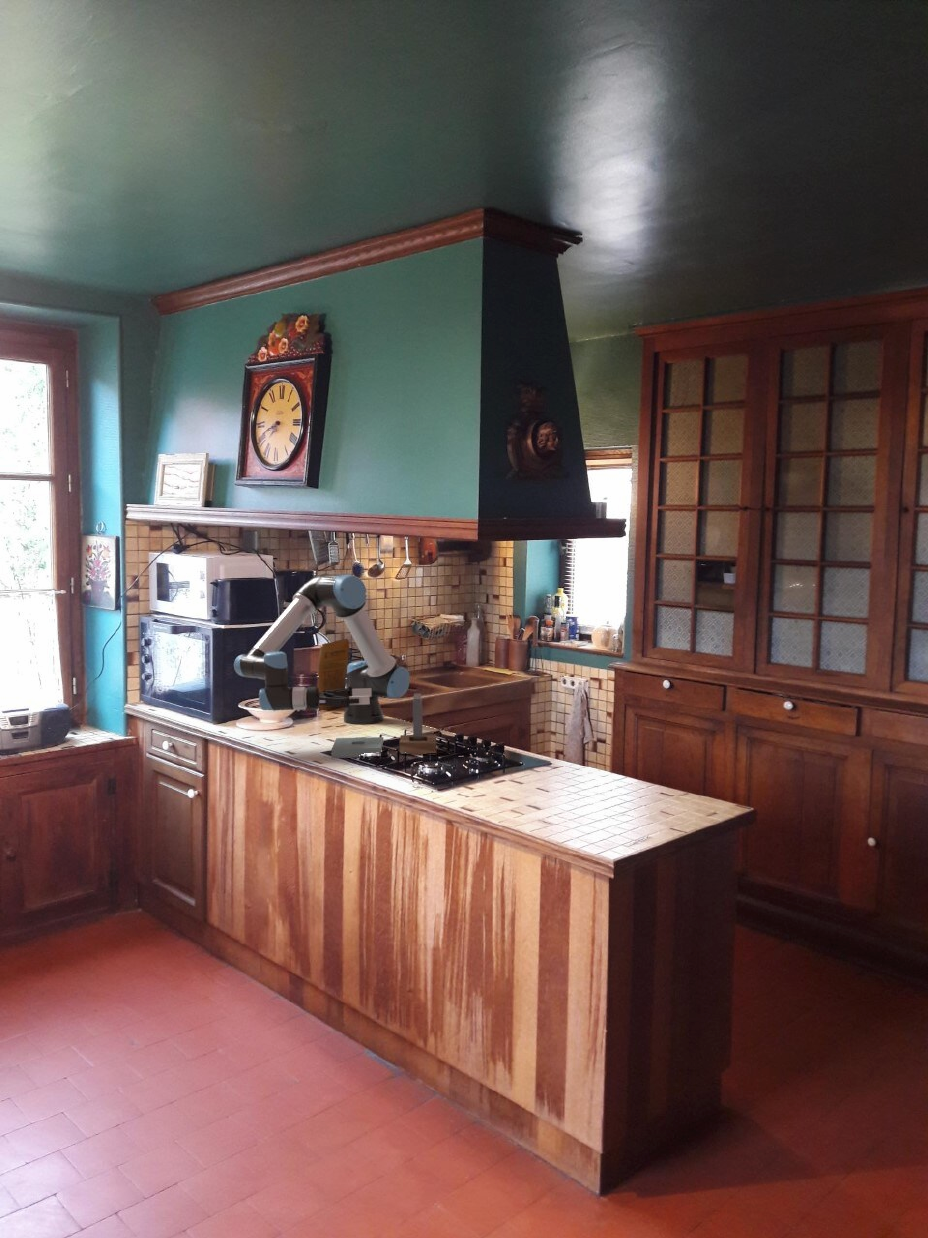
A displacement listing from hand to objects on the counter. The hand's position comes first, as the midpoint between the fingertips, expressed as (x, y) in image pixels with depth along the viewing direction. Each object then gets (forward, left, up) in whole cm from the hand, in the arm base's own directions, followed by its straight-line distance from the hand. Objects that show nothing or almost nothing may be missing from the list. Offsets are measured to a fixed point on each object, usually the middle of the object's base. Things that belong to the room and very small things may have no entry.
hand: (370, 696), depth 333 cm
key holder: (+3, +16, -18) cm, 24 cm away
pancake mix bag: (-76, -20, -18) cm, 81 cm away
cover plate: (+3, -4, -18) cm, 19 cm away
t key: (+3, +16, -18) cm, 24 cm away
